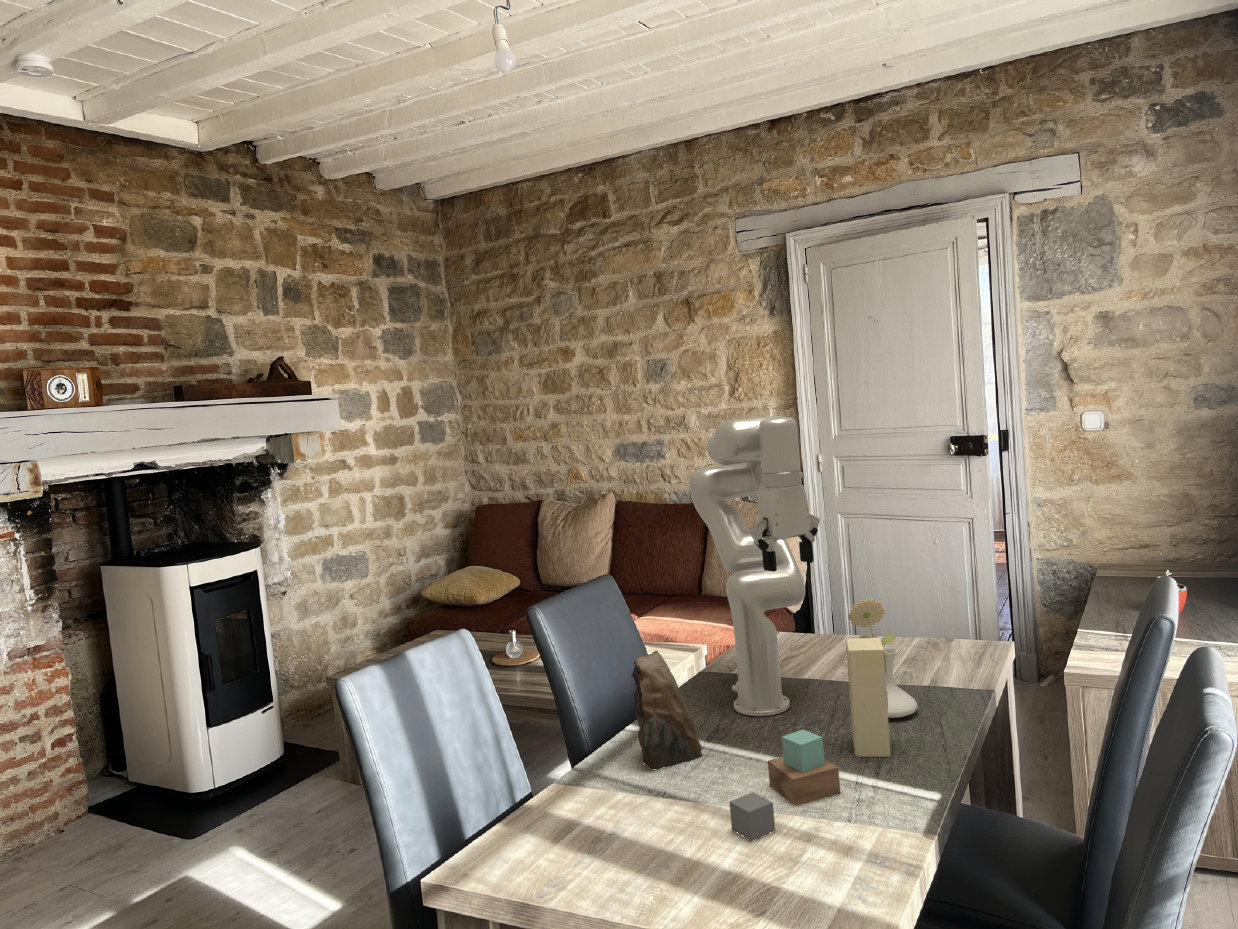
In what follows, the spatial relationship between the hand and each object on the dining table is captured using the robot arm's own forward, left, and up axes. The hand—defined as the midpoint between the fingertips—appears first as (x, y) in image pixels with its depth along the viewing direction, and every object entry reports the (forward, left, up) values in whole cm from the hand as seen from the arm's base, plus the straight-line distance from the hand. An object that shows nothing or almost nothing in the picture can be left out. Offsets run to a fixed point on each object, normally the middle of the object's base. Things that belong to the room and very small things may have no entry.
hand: (788, 566), depth 173 cm
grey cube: (+20, -30, -36) cm, 51 cm away
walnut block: (+15, -14, -37) cm, 42 cm away
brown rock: (-14, -23, -36) cm, 45 cm away
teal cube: (+15, -14, -32) cm, 38 cm away
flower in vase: (0, +24, -36) cm, 44 cm away
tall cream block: (+11, +8, -36) cm, 39 cm away
